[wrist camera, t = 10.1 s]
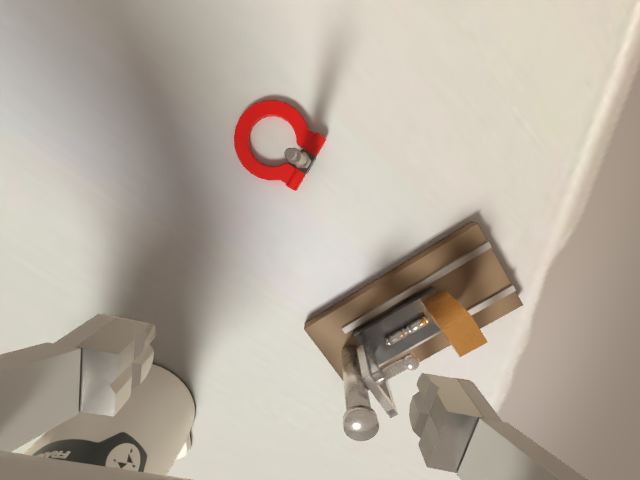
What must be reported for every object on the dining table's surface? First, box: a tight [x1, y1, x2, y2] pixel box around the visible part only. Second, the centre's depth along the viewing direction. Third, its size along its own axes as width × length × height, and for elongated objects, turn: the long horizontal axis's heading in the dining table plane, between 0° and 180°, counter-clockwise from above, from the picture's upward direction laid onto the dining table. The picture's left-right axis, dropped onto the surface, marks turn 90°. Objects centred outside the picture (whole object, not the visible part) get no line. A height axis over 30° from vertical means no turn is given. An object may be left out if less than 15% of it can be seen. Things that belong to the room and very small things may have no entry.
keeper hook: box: [341, 345, 419, 441], centre depth 32 cm, size 9×3×11 cm, turn 124°
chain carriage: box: [353, 286, 487, 418], centre depth 32 cm, size 12×5×9 cm, turn 124°
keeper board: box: [304, 222, 523, 381], centre depth 37 cm, size 24×12×2 cm, turn 124°
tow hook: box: [234, 100, 326, 191], centre depth 27 cm, size 8×13×9 cm
